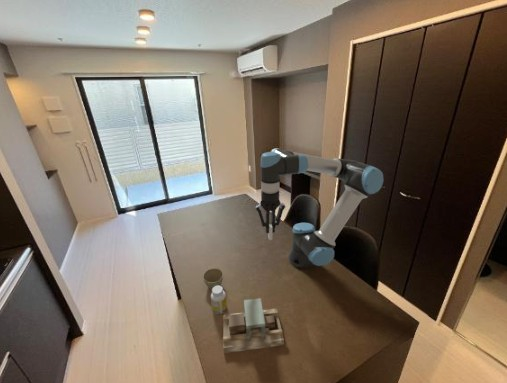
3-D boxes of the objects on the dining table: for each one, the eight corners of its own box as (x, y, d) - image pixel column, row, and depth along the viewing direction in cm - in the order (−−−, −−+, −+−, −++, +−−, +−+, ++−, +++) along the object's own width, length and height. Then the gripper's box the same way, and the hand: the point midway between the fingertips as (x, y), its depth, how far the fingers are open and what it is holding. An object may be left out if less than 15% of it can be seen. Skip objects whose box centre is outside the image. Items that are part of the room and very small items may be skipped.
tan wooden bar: (272, 318, 95) (272, 309, 93) (275, 329, 90) (275, 320, 88) (229, 323, 93) (228, 315, 91) (229, 335, 88) (229, 326, 87)
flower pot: (205, 295, 110) (203, 284, 108) (203, 281, 119) (202, 270, 117) (225, 291, 113) (224, 280, 110) (222, 277, 122) (221, 266, 119)
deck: (276, 313, 100) (276, 293, 96) (283, 344, 88) (284, 324, 83) (224, 319, 98) (221, 300, 94) (223, 353, 85) (221, 332, 81)
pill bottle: (227, 302, 107) (225, 283, 102) (226, 314, 101) (224, 294, 96) (213, 303, 106) (211, 284, 102) (211, 315, 100) (208, 295, 96)
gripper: (283, 185, 98) (282, 232, 107) (253, 188, 97) (254, 235, 106) (288, 192, 91) (286, 241, 100) (255, 195, 90) (257, 244, 99)
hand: (270, 238), depth 103 cm, fingers closed
